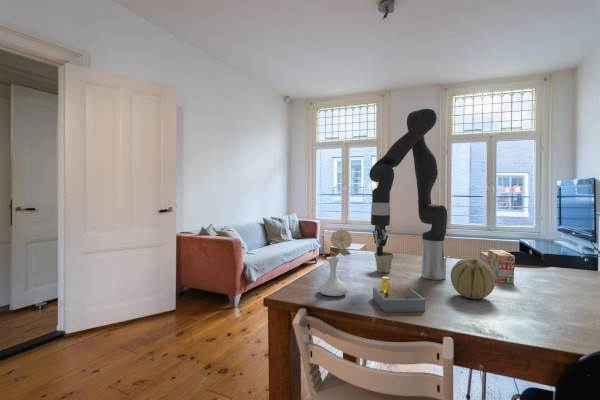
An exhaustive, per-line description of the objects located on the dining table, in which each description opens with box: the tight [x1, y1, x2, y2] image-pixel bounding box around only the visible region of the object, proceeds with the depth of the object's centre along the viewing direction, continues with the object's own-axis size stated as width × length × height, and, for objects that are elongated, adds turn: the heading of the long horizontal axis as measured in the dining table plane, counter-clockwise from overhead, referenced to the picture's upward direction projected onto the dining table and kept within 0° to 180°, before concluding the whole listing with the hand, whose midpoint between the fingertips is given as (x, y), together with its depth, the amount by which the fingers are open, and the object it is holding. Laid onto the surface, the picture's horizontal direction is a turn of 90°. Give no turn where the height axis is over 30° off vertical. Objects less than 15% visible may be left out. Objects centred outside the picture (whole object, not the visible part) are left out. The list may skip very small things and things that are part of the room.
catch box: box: [372, 286, 426, 313], centre depth 107 cm, size 14×13×4 cm
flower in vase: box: [317, 228, 353, 297], centre depth 117 cm, size 13×11×25 cm
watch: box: [381, 276, 391, 295], centre depth 119 cm, size 6×3×6 cm, turn 2°
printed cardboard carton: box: [479, 249, 516, 285], centre depth 142 cm, size 21×6×12 cm, turn 168°
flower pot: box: [373, 251, 395, 274], centre depth 150 cm, size 9×9×9 cm
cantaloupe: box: [450, 257, 496, 300], centre depth 114 cm, size 15×15×15 cm
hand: (379, 255), depth 127 cm, fingers closed
